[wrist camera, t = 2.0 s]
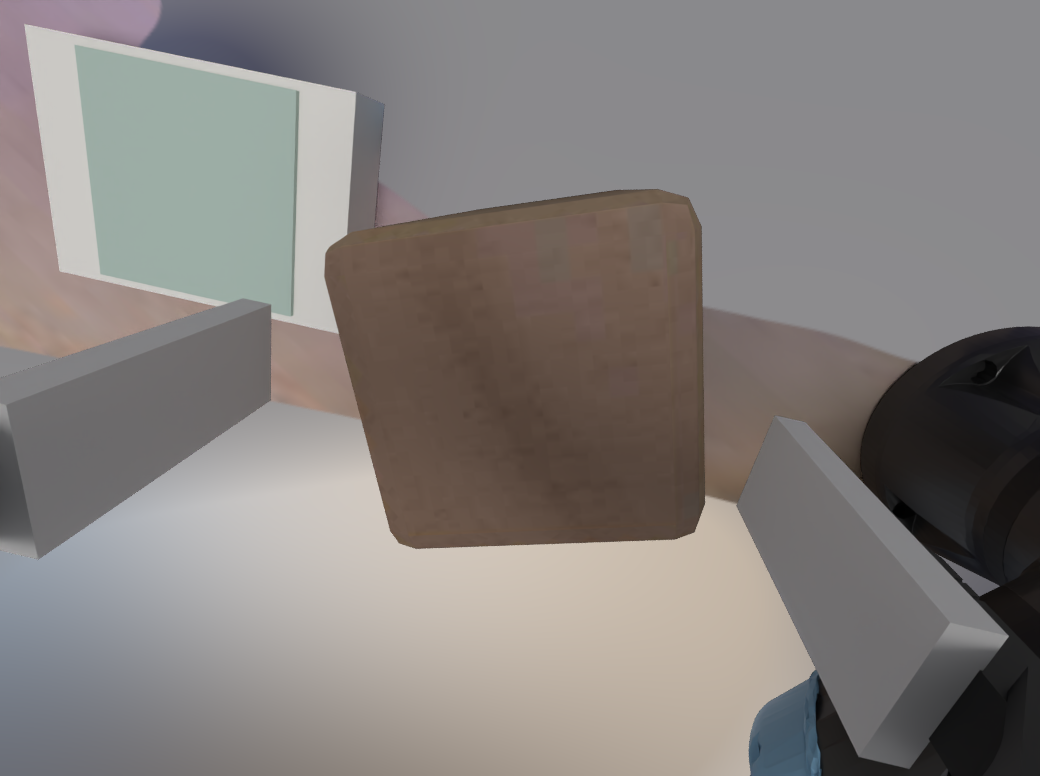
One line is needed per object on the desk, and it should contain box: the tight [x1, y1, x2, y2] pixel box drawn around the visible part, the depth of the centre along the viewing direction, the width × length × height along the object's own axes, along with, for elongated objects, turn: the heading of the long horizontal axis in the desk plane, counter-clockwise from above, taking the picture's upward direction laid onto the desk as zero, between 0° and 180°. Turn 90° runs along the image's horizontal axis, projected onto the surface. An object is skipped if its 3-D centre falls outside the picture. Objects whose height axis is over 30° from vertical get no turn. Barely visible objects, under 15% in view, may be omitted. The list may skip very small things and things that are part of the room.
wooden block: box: [324, 189, 705, 549], centre depth 23 cm, size 10×10×20 cm
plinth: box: [24, 24, 384, 334], centre depth 31 cm, size 18×13×4 cm
